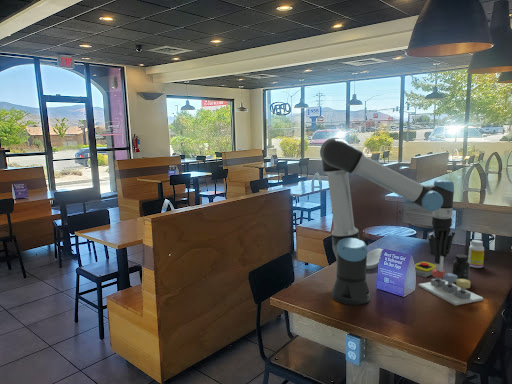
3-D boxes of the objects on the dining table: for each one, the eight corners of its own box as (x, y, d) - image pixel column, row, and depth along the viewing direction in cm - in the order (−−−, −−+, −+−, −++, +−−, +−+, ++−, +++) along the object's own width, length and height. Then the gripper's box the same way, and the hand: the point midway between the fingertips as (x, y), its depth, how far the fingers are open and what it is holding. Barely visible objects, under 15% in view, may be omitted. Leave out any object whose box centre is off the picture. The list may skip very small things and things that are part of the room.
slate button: (449, 287, 156) (450, 278, 155) (440, 283, 161) (441, 274, 160) (459, 286, 157) (460, 276, 157) (450, 281, 162) (450, 272, 162)
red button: (437, 282, 162) (438, 273, 162) (429, 278, 167) (429, 269, 166) (447, 281, 164) (447, 272, 163) (438, 277, 168) (438, 268, 168)
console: (455, 305, 148) (455, 298, 148) (418, 286, 167) (419, 279, 166) (483, 300, 152) (483, 293, 152) (444, 281, 171) (444, 275, 171)
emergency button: (407, 263, 184) (425, 257, 192) (407, 272, 184) (425, 266, 193) (425, 269, 176) (443, 262, 184) (425, 278, 177) (443, 271, 185)
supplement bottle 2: (485, 268, 187) (488, 243, 185) (472, 268, 187) (474, 243, 185) (478, 263, 194) (480, 239, 192) (465, 263, 194) (466, 239, 192)
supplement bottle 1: (466, 279, 174) (468, 254, 172) (470, 285, 167) (472, 258, 165) (450, 278, 176) (451, 252, 174) (453, 283, 169) (455, 257, 167)
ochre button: (463, 293, 150) (463, 284, 149) (452, 289, 155) (453, 279, 154) (472, 292, 151) (473, 282, 151) (462, 287, 156) (463, 278, 155)
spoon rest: (370, 273, 183) (370, 259, 182) (349, 267, 191) (350, 253, 190) (395, 262, 198) (396, 248, 197) (375, 257, 207) (376, 244, 206)
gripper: (436, 220, 155) (433, 275, 159) (461, 217, 159) (458, 271, 163) (423, 216, 162) (420, 269, 166) (447, 213, 166) (444, 265, 170)
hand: (439, 270), depth 165 cm, fingers closed
